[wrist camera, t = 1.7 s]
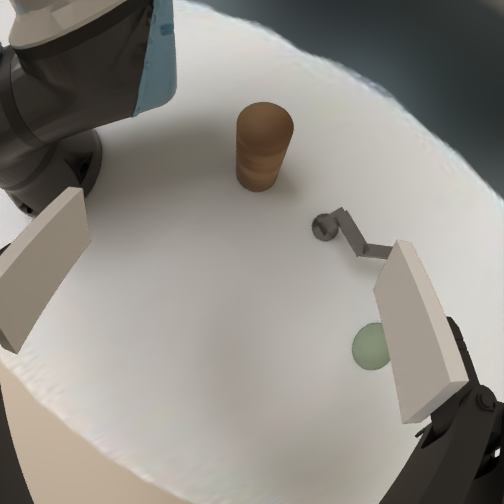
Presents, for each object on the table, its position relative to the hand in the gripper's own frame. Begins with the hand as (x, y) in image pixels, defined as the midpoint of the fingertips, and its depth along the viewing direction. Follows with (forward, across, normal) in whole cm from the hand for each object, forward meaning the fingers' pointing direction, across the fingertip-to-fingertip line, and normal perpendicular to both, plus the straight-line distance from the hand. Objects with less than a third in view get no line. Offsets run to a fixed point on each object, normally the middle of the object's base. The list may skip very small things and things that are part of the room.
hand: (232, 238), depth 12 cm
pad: (+13, +18, -22) cm, 31 cm away
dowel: (+26, 0, -8) cm, 27 cm away
